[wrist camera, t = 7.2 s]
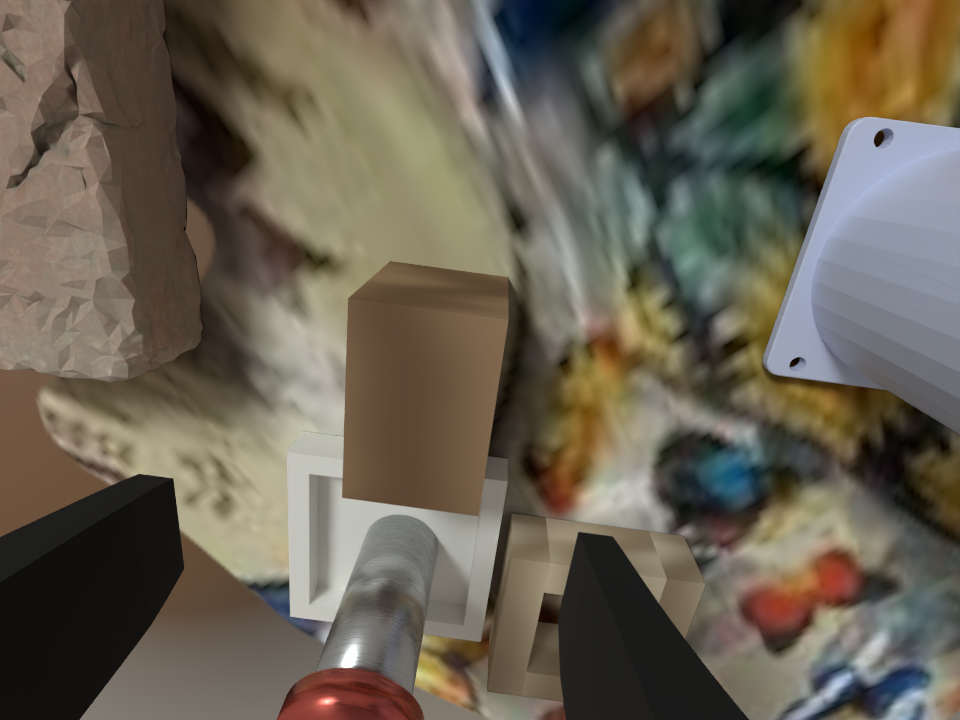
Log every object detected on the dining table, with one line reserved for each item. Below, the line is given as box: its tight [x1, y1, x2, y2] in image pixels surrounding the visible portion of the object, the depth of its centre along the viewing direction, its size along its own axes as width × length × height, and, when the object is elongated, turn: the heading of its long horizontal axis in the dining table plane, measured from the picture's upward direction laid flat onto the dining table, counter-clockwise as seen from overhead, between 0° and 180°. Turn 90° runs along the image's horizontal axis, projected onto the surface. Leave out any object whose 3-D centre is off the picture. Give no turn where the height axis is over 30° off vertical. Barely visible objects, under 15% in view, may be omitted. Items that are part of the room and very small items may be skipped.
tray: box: [287, 431, 508, 642], centre depth 21 cm, size 8×8×2 cm
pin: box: [277, 515, 438, 720], centre depth 17 cm, size 4×4×8 cm
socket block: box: [487, 513, 706, 702], centre depth 21 cm, size 7×7×2 cm
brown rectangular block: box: [342, 261, 509, 516], centre depth 16 cm, size 4×6×5 cm, turn 173°
